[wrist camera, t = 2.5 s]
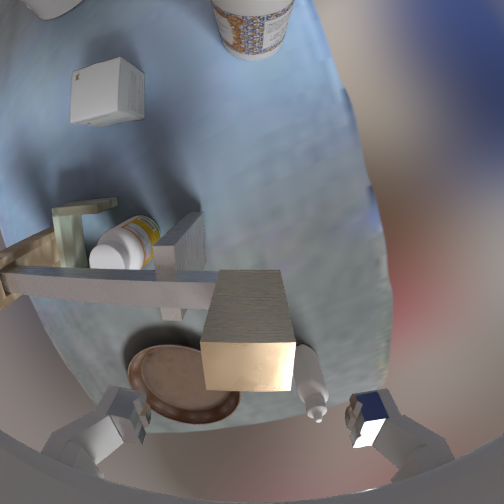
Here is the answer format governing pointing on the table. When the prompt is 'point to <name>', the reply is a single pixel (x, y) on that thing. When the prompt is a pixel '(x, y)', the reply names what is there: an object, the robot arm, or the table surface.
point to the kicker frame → (54, 242)
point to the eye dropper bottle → (310, 382)
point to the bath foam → (252, 26)
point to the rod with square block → (190, 305)
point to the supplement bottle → (126, 245)
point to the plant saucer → (179, 385)
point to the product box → (107, 93)
